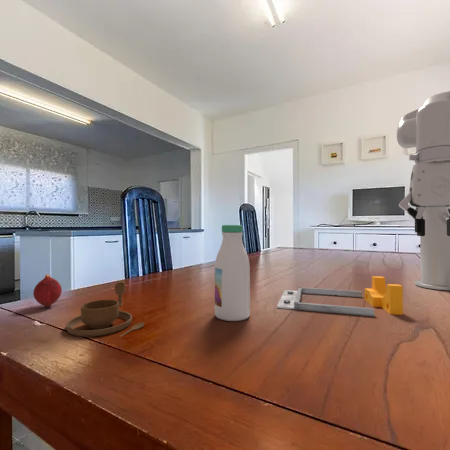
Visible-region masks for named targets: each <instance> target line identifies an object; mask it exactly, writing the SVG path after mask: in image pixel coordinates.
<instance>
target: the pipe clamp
mask: <svg viewBox="0 0 450 450" xmlns="http://www.w3.org/2000/svg"><path fill="white" fill-rule="evenodd" d="M403 287H404V286H403V285H401V284H399V283H398V284H395V283H386V278H385V277H384V276H381V275H380V276H378V275H377V276H376V275H375V276H374V275H373V276H371V288H364V301H366V302H367V304H370V306H372V308H373V307H375V308H382V309H383V310H384V311H385V312H387V313H388V315H389V314H390V315H402V316H403V315H404V309H403V308H404V307H403V305H404V301H403V300H404V299H403V298H404V288H403Z"/></svg>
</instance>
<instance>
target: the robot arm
mask: <svg viewBox="0 0 450 450" xmlns="http://www.w3.org/2000/svg"><path fill="white" fill-rule="evenodd" d="M396 140H397V143H398V145H399V146H400V147H401V148H403V149H411V148H416V149H415V150H416V152H415V153H413V154H409V157H408V159H409V161H413V162H414V163H415V164H414V165H413V166H412V170H411V175H410V180H409V181H410V182H409V187H408V188H409V191H408V194H407V195H406V196H405V197H404V198H403V199H402V200H401V201H399V203H398V207H399V208H401V209H402V210H403V211H405V212H406V213H407V214H408V215H409V216H411V217H412V219H413V220H414V233H416V235H417V236H418V237H419V238H420V240H419V241H420V251H419V252H420V253H419V254H420V259H419V260H420V263H419V264H420V279H416V280H415V281H414V285H415V286H418V287H421V288H426V289H430V290H431V289H432V290H438V291H439V290H440V291H448V292H449V291H450V90H449V91H444V92H439V93H437V94H436V93H435V94H433V95H432V96H430V97H428V98H427V99H426V100H425V101H424V103H423V104H422V106H421V107H419V108H417V109H415V110H412V111H410V112H408V113H406V114H405V115H403V116H402V117H401V119H400V120H399V123H398V125H397V130H396ZM411 206H412V207H411ZM414 207H415V208H414Z"/></svg>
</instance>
